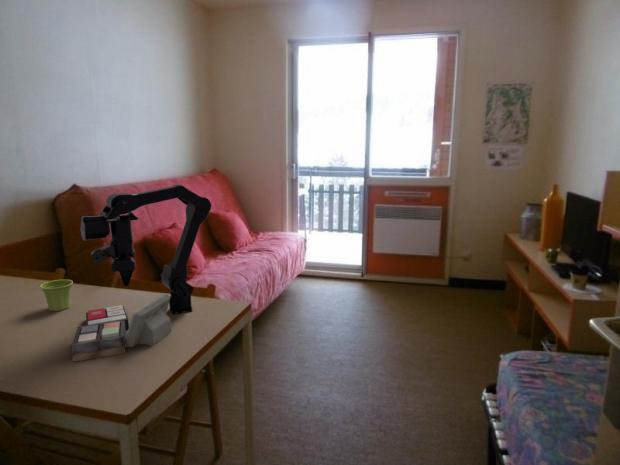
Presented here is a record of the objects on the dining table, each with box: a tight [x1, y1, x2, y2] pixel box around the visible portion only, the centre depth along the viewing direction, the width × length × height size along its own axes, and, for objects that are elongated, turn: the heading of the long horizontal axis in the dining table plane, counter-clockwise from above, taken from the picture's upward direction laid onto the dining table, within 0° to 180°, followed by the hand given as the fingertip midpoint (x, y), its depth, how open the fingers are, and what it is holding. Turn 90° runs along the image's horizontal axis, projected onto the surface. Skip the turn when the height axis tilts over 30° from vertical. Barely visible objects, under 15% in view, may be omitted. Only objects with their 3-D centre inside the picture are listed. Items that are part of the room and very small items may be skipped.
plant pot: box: [40, 279, 74, 312], centre depth 137 cm, size 9×9×9 cm
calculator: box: [85, 304, 130, 331], centre depth 124 cm, size 11×4×15 cm
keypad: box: [71, 320, 127, 362], centre depth 110 cm, size 12×14×4 cm
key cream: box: [78, 333, 97, 343], centre depth 106 cm, size 4×4×2 cm
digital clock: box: [125, 293, 172, 348], centre depth 114 cm, size 16×9×11 cm, turn 156°
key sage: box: [102, 327, 120, 339], centre depth 108 cm, size 4×4×2 cm
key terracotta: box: [103, 322, 120, 329], centre depth 113 cm, size 4×4×2 cm
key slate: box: [81, 325, 99, 334], centre depth 111 cm, size 4×4×2 cm
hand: (126, 285), depth 123 cm, fingers closed
